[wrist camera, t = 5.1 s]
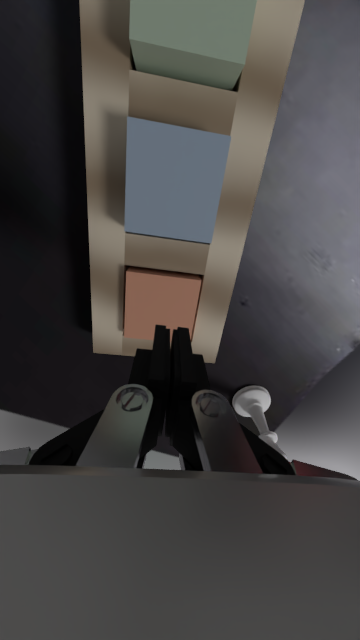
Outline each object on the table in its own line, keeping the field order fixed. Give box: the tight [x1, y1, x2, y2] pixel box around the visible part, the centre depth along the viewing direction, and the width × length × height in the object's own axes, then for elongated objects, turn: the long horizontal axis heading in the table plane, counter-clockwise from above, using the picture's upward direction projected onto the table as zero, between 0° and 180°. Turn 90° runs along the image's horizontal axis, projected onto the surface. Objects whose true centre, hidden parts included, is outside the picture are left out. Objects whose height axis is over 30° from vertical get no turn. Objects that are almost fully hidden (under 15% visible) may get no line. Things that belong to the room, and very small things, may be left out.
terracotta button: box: [124, 266, 202, 342], centre depth 20 cm, size 6×6×3 cm
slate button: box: [124, 116, 231, 243], centre depth 15 cm, size 6×6×3 cm
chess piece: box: [232, 386, 287, 459], centre depth 24 cm, size 5×5×10 cm
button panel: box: [79, 0, 305, 363], centre depth 17 cm, size 29×12×3 cm, turn 172°
